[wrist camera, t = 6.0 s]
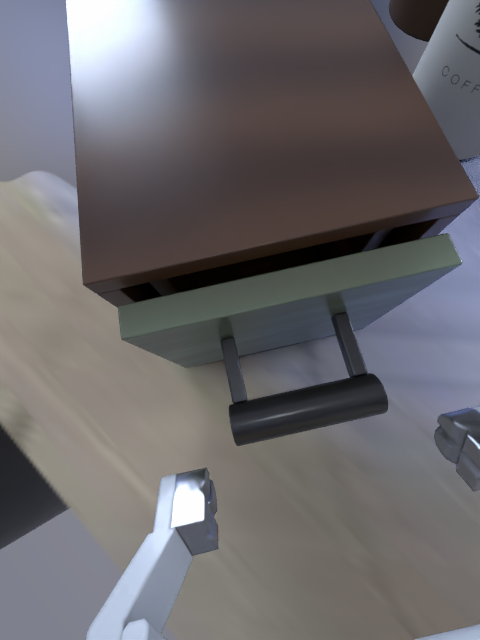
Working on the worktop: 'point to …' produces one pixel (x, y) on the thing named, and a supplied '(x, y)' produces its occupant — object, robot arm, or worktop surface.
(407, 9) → the olive oil
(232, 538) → the worktop surface
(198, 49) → the storage box
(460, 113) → the travel mug
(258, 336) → the drawer
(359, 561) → the worktop surface
